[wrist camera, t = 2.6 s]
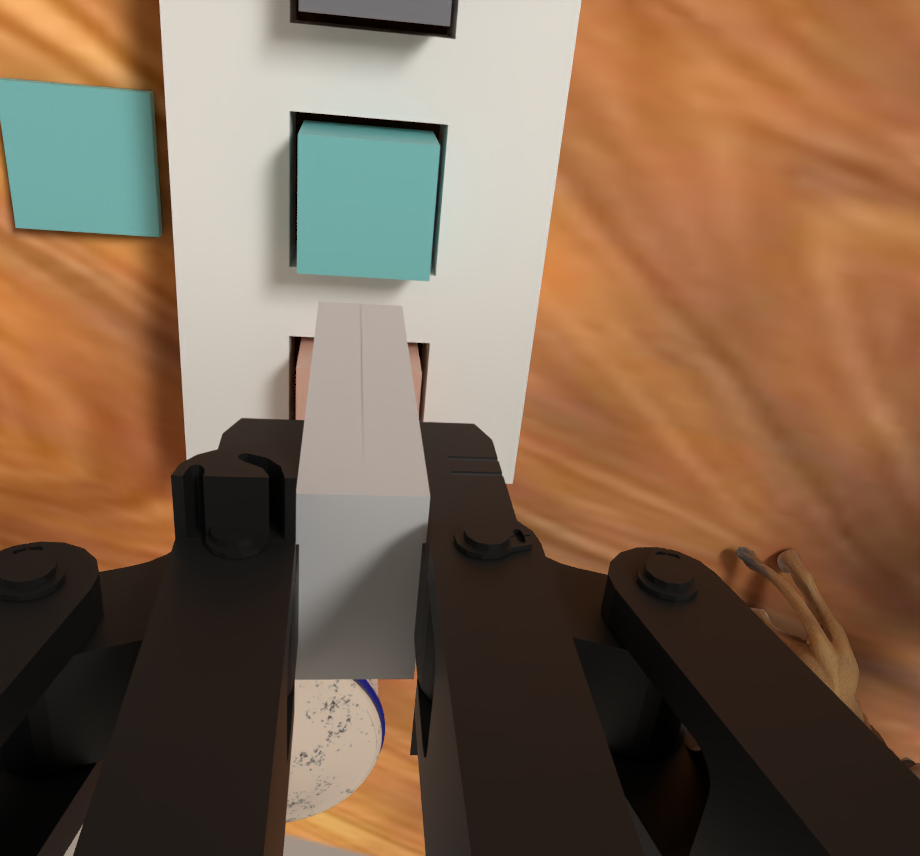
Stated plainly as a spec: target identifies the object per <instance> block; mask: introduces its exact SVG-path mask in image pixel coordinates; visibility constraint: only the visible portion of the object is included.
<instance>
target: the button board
mask: <svg viewBox="0 0 920 856" xmlns="http://www.w3.org/2000/svg"><path fill="white" fill-rule="evenodd" d="M159 5H160V22H161V39H162V55H163V72H164V89H165V106H166V123H167V140H168V156H169V173H170V190H171V207H172V224H173V240H174V257H175V274H176V291H177V308H178V325H179V341H180V358H181V375H182V392H183V409H184V426H185V442H186V459H187V460H188V459H190V458H192V457H193V456H195V455H197V454H201V453H205V452H209V451H213V450H217V449H218V447H219V443H220V440H221V437H222V434H223V433H224V432H225V431H226V430H227V429H229V428H230V427H231V426H232V425H234V424H235V423H236V422H237V421H238V420H240V419H241V418H256V419H285V420H294V353H295V336H299V337H314V336H315V328H316V319H317V311H318V302H319V301H320V302H339V303H357V304H376V305H394V306H402V309H403V316H404V323H405V329H406V336H407V342H416V343H423V346H422V359H421V371H422V380H421V392H420V404H419V422H442V423H470V424H475V425H476V426H477V427H479V428H480V429H481V430H482V431H483V432H484V433H485V434H486V435H487V436H489V437H490V438H491V439H492V441H493V444H494V447H495V451H496V454H497V457H498V461H499V464H500V467H501V470H502V476H503V477H504V480H505V483H508V484H513V478H514V471H515V464H516V457H517V450H518V443H519V436H520V429H521V422H522V415H523V408H524V401H525V394H526V387H527V380H528V373H529V366H530V359H531V351H532V344H533V337H534V330H535V323H536V316H537V309H538V302H539V295H540V288H541V281H542V274H543V267H544V260H545V253H546V246H547V239H548V232H549V225H550V218H551V211H552V204H553V197H554V190H555V183H556V175H557V168H558V161H559V154H560V147H561V140H562V133H563V126H564V119H565V112H566V105H567V98H568V91H569V84H570V77H571V70H572V63H573V56H574V49H575V42H576V35H577V28H578V21H579V14H580V7H581V0H452V6H451V18H450V26H448V31H447V35H443V34H433V33H423V32H413V31H403V30H393V29H383V28H373V27H363V26H353V25H343V24H333V23H323V22H313V21H303V20H297V0H159ZM296 112H307V113H318V114H330V115H341V116H353V117H365V118H376V119H388V120H400V121H411V122H423V123H435V124H440V132H439V144H440V155H439V168H438V180H437V193H436V205H435V218H434V230H433V242H432V255H431V267H430V280H429V281H415V280H398V279H382V278H365V277H349V276H332V275H316V274H299V273H297V244H295V191H296Z"/></svg>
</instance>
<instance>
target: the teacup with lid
mask: <svg viewBox="0 0 920 856" xmlns="http://www.w3.org/2000/svg"><path fill="white" fill-rule="evenodd" d="M384 735H385V719H384V713H383V709H382V706H381V703H380V701H379V698H378V679H333V680H295V711H294V724H293V737H292V749H291V761H290V774H289V786H288V799H287V811H286V822H291V821H296V820H300V819H304V818H307V817H310V816H313V815H316V814H319V813H321V812H323V811H325V810H327V809H329V808H331V807H333V806H335V805H337V804H338V803H340V802H341V801H343V800H344V799H346V798H347V797H348V796H350V795H351V794H352V793H353V792H354V791H355V790H356V789H357V788H358V787H359V786H360V785H361V784H362V783H363V782H364V780H365V779H366V778H367V776H368V775H369V774H370V772H371V771H372V769H373V767H374V765H375V763H376V761H377V759H378V756H379V754H380V751H381V749H382V745H383V742H384Z"/></svg>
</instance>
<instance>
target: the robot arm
mask: <svg viewBox="0 0 920 856" xmlns="http://www.w3.org/2000/svg"><path fill="white" fill-rule="evenodd" d="M171 482H172V496H173V511H174V525H175V542H174V545H173V548H172V551H171V552H170V553H168V554H167V555H164V556H162V557H160V558H157V559H155V560H152V561H150V562H146V563H142V564H138V565H134V566H130V567H125V568H119V569H114V570H108V571H103V572H99V570H98V565H97V560H96V559H95V558H94V557H93V556H92V555H91V554H90V553H88V552H87V551H86V550H85V549H83V548H80V547H77V546H74V545H70V544H67V543H59V542H35V543H29V544H22V545H17V546H12V547H10V548H7V549H4V550H2V551H0V856H64V854H65V852H66V850H67V849H68V847H69V846H70V844H71V843H72V841H73V839H74V838H75V836H76V834H77V833H78V831H79V830H80V828H81V826H82V825H83V827H82V830H81V833H80V836H79V839H78V842H77V845H76V848H75V852H74V854H73V856H283V847H284V836H285V823H286V811H287V799H288V786H289V774H290V761H291V749H292V737H293V724H294V711H295V680H333V679H414V670H415V659H416V666H417V688H416V698H415V709H414V720H413V730H412V741H411V752H410V755H418V762H419V774H420V787H421V800H422V813H423V825H424V838H425V851H426V856H920V779H919V778H918V777H917V776H916V775H915V774H914V773H913V772H912V771H911V770H910V769H909V768H908V767H907V766H906V765H905V764H904V763H903V762H902V761H901V760H900V759H899V758H898V757H897V756H896V755H895V754H894V753H893V752H892V751H891V750H890V749H889V748H888V747H887V746H886V745H885V744H884V743H883V742H882V741H881V740H880V739H879V738H878V737H877V736H876V735H875V734H874V733H873V732H872V731H871V730H870V729H869V728H868V727H867V726H866V725H865V723H864V722H863V721H862V720H861V719H860V718H859V717H858V716H857V715H856V714H855V713H854V712H853V711H852V710H851V709H850V708H849V707H848V706H847V705H846V704H845V703H844V702H843V701H842V700H841V699H840V698H839V697H838V696H837V695H836V694H835V693H834V692H833V691H832V690H831V689H830V688H829V687H828V686H827V685H826V684H825V683H824V682H823V681H822V680H821V679H820V678H819V677H818V676H817V675H816V674H815V673H814V672H813V671H812V670H811V669H810V668H809V667H808V666H807V665H806V664H805V663H804V662H803V661H802V660H801V659H800V658H799V657H798V656H797V655H796V654H795V653H794V652H793V651H792V650H791V649H790V648H789V647H788V646H787V645H786V644H785V643H784V642H783V641H782V640H781V639H780V638H779V637H778V636H777V635H776V634H775V633H774V632H773V631H772V630H771V629H770V628H769V627H768V626H767V625H766V624H765V623H764V622H763V621H762V620H761V619H760V618H759V617H758V616H757V615H756V614H755V613H754V612H753V611H752V610H751V609H750V608H749V607H748V606H747V604H746V603H745V602H744V601H743V600H742V599H741V598H740V597H739V596H738V595H737V594H736V593H735V592H734V591H733V590H732V589H731V588H730V587H729V586H728V585H727V584H726V583H725V582H724V581H723V580H722V579H721V578H720V577H719V576H718V575H717V574H716V573H715V572H713V571H712V570H711V569H709V568H708V567H707V566H705V565H704V564H703V563H701V562H700V561H698V560H696V559H694V558H691V557H689V556H687V555H685V554H682V553H680V552H677V551H674V550H670V549H669V550H667V549H664V548H658V547H644V548H634V549H631V550H627V551H624V552H621V553H620V554H618V555H617V556H616V557H615V558H614V559H613V560H612V561H611V562H610V567H609V571H608V575H606V574H601V573H597V572H592V571H588V570H583V569H578V568H575V567H571V566H568V565H564V564H561V563H558V562H556V561H554V560H552V559H550V558H547V557H545V554H544V551H543V548H542V545H541V543H540V541H539V540H538V538H537V537H536V535H535V534H534V532H533V531H531V530H530V529H528V528H527V527H526V526H524V525H523V524H521V523H520V522H518V521H517V519H516V516H515V513H514V509H513V506H512V503H511V500H510V496H509V493H508V490H507V487H506V483H505V480H504V477H503V476H502V470H501V467H500V464H499V461H498V457H497V454H496V451H495V447H494V444H493V441H492V439H491V438H490V437H489V436H487V435H486V434H485V433H484V432H483V431H482V430H481V429H480V428H479V427H477V426H476V425H475V424H470V423H442V422H419V417H418V410H417V403H416V397H415V390H414V383H413V376H412V370H411V363H410V356H409V349H408V343H407V336H406V329H405V323H404V316H403V309H402V306H394V305H376V304H357V303H339V302H320V301H319V302H318V311H317V319H316V328H315V336H314V344H313V353H312V361H311V370H310V378H309V387H308V395H307V403H306V412H305V420H285V419H256V418H241V419H240V420H238V421H237V422H236V423H235V424H234V425H232V426H231V427H230V428H229V429H227V430H226V431H225V432H224V433H223V434H222V437H221V440H220V443H219V447H218V449H217V450H213V451H209V452H205V453H201V454H197V455H195V456H193V457H192V458H190V459H188V460H186V461H184V462H182V463H181V464H180V465H179V466H178V467H177V468H176V470H175V471H174V472H173V473H172V475H171Z"/></svg>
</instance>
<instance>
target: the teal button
mask: <svg viewBox="0 0 920 856" xmlns="http://www.w3.org/2000/svg"><path fill="white" fill-rule="evenodd" d="M439 155H440V144H439V142H438V140H437V138H436V136H435V134H434V132H433V131H427V130H416V129H404V128H392V127H380V126H368V125H356V124H345V123H333V122H321V121H309V120H304V122H303V124H302V126H301V128H300V130H299V133H298V176H297V273H299V274H316V275H332V276H349V277H365V278H382V279H398V280H415V281H429V280H430V267H431V255H432V242H433V230H434V218H435V205H436V193H437V180H438V168H439Z"/></svg>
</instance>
